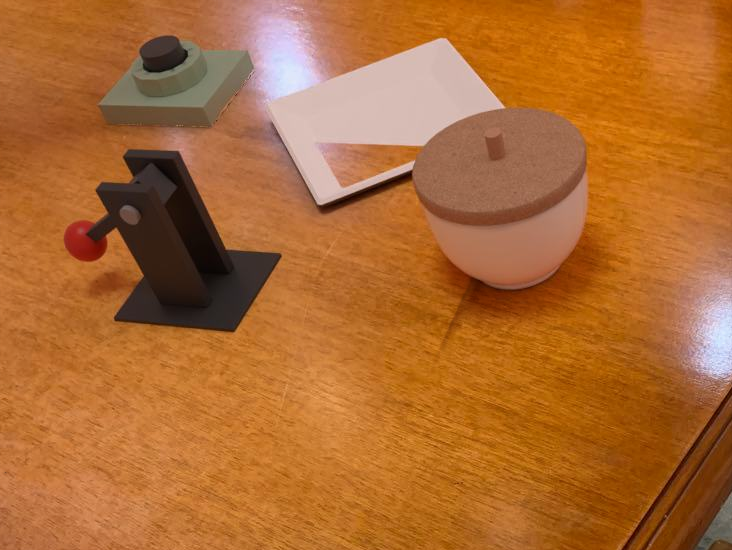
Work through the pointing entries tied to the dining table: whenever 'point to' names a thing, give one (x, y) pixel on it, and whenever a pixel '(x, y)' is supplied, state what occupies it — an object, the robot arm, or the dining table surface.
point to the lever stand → (180, 252)
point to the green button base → (178, 89)
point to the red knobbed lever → (110, 220)
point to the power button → (162, 54)
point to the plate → (378, 112)
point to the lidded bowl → (505, 194)
